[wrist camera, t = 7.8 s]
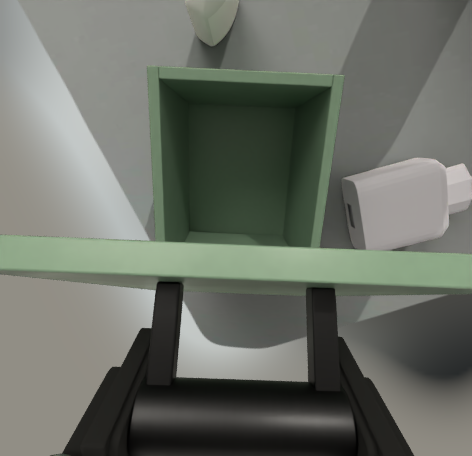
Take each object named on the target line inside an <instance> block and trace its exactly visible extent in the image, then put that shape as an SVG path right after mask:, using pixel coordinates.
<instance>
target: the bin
mask: <svg viewBox="0 0 472 456" xmlns="http://www.w3.org/2000/svg"><path fill="white" fill-rule="evenodd" d="M344 77H345V76H344V75H332V74H313V73H292V72H271V71H250V70H229V69H209V68H188V67H167V66H159V67H158V66H147V79H148V99H149V119H150V139H151V159H152V179H153V199H154V219H155V239H156V241H166V242H190V243H215V244H239V245H263V246H288V247H312V248H320V241H321V234H322V227H323V220H324V214H325V207H326V200H327V193H328V186H329V179H330V173H331V166H332V159H333V152H334V145H335V138H336V132H337V125H338V118H339V111H340V104H341V97H342V91H343V84H344Z"/></svg>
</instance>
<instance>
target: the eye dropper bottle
mask: <svg viewBox="0 0 472 456" xmlns="http://www.w3.org/2000/svg"><path fill="white" fill-rule="evenodd" d="M185 3H186V7H187V11H188V14H189V16H190V19H191V22H192V25H193V27H194V30H195V33H196V35H197V37H198V38H199V39H200V40H202V41H203V42H205V43H206V44H207V45H209V46H215V45H216V44H218V43H219V42H220V41H221V40H222V39H223V38H224V37H225V36H226V34H227V33H228V31H229V30H230V28H231V26H232V24H233V22H234V19H235V17H236V13H237V10H238V4H239V0H185Z"/></svg>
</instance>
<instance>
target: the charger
mask: <svg viewBox="0 0 472 456" xmlns="http://www.w3.org/2000/svg"><path fill="white" fill-rule="evenodd" d="M471 181H472V176H471V177H470V175H469V172H468V170H467V168H466V166H465V165H464V164H463V163H462V164H459V165H455V166H451V167H448V168H445V166H444V165H442V164H441V163H439V162H438V161H437V160H435V159H428V158H413V159H409V160H405V161H402V162H398V163H395V164H391V165H388V166H384V167H380V168H377V169H373V170H370V171H366V172H363V173H359V174H355V175H352V176H348V177H345V178H342V180H341V186H342V193H343V199H344V205H345V211H346V217H347V223H348V228H349V234H350V239H351V242H352V244H353V246H354V247H355V248H356V249H361V250H385V251H389V250H392V249H396V248H400V247H404V246H408V245H412V244H416V243H420V242H424V241H428V240H432V239H436V238H440V237H441V236H442V235H443V234H444V232H445V231H446V229H447V228H448V226H449V215H450V214H453V213H457V212H461V211H465V210H466V209H467V208H468V206H469V204H470V202H471V200H472V189H471Z"/></svg>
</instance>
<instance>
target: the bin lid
mask: <svg viewBox="0 0 472 456" xmlns="http://www.w3.org/2000/svg"><path fill="white" fill-rule="evenodd" d="M0 274H4V275H13V276H22V277H32V278H42V279H53V280H61V281H71V282H81V283H91V284H100V285H111V286H120V287H130V288H140V289H149V290H156V294H155V303H154V312H153V322H152V330H151V339H150V348H149V357H148V366H147V375H146V378H144V379H143V381H142V382H141V384H140V386H139V388H138V391H137V393H136V396H135V399H134V402H133V406H132V410H131V415H130V420H129V426H128V435H127V450H128V455H129V456H357V453H358V435H357V427H356V421H355V416H354V412H353V409H352V405H351V402H350V400H349V397H348V395H347V393H346V391H345V390H344V388H343V387H342V386H341V385H340V368H339V349H338V331H337V312H336V296H370V295H431V294H472V254H458V253H434V252H410V251H385V250H361V249H336V248H312V247H288V246H263V245H239V244H215V243H190V242H166V241H141V240H117V239H93V238H68V237H67V238H66V237H44V236H43V237H42V236H20V235H0ZM183 291H189V292H215V293H241V294H266V295H292V296H306V313H307V349H308V382H292V381H290V382H289V381H264V380H263V381H262V380H236V379H207V378H179V377H176V371H177V360H178V348H179V337H180V325H181V313H182V301H183Z"/></svg>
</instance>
